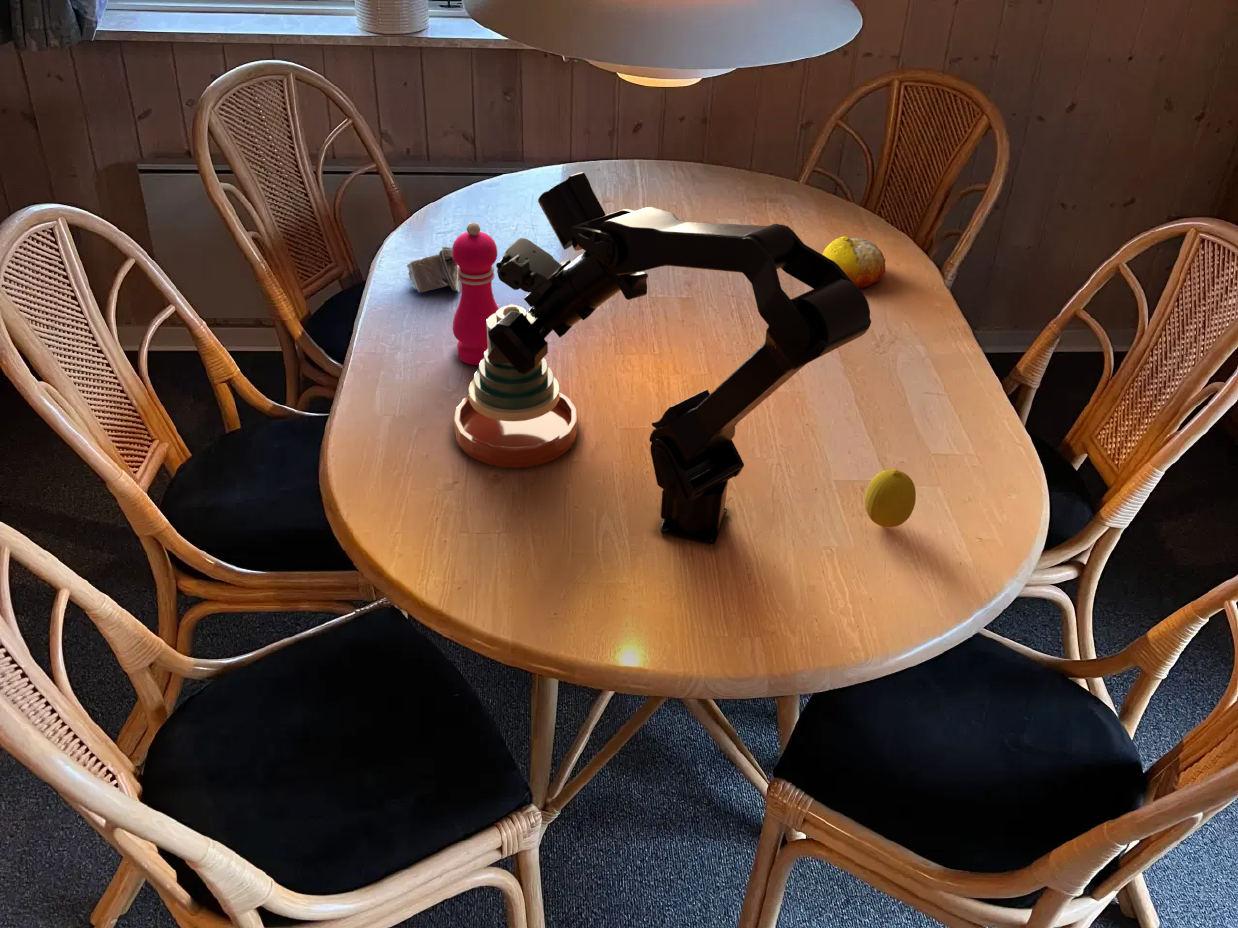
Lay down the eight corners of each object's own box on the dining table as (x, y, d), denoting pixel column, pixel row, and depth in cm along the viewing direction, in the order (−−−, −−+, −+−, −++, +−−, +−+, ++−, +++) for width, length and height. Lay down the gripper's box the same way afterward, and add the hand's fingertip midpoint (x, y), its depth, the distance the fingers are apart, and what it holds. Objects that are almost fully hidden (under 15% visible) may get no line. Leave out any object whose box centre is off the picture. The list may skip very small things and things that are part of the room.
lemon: (877, 546, 119) (890, 491, 114) (850, 517, 123) (862, 462, 118) (917, 534, 121) (932, 479, 116) (889, 506, 125) (902, 452, 120)
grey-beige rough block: (416, 263, 172) (392, 238, 161) (457, 251, 172) (436, 225, 160) (429, 317, 171) (406, 296, 159) (470, 305, 170) (451, 283, 159)
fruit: (881, 296, 167) (875, 250, 163) (816, 301, 172) (809, 256, 168) (892, 266, 175) (886, 221, 171) (830, 271, 180) (823, 228, 176)
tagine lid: (571, 381, 134) (571, 292, 126) (540, 428, 125) (539, 336, 118) (490, 366, 136) (485, 278, 129) (454, 411, 128) (447, 319, 120)
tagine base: (592, 411, 139) (593, 394, 137) (551, 479, 127) (551, 461, 125) (485, 389, 142) (484, 373, 141) (435, 453, 130) (433, 436, 129)
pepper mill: (480, 336, 154) (473, 207, 142) (516, 353, 150) (512, 222, 138) (443, 355, 149) (433, 223, 137) (479, 373, 146) (472, 239, 134)
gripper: (574, 196, 123) (494, 264, 132) (501, 259, 109) (417, 330, 118) (635, 270, 125) (551, 332, 135) (570, 342, 111) (482, 405, 121)
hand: (502, 347), depth 127 cm, fingers closed on tagine lid, 6 cm apart
